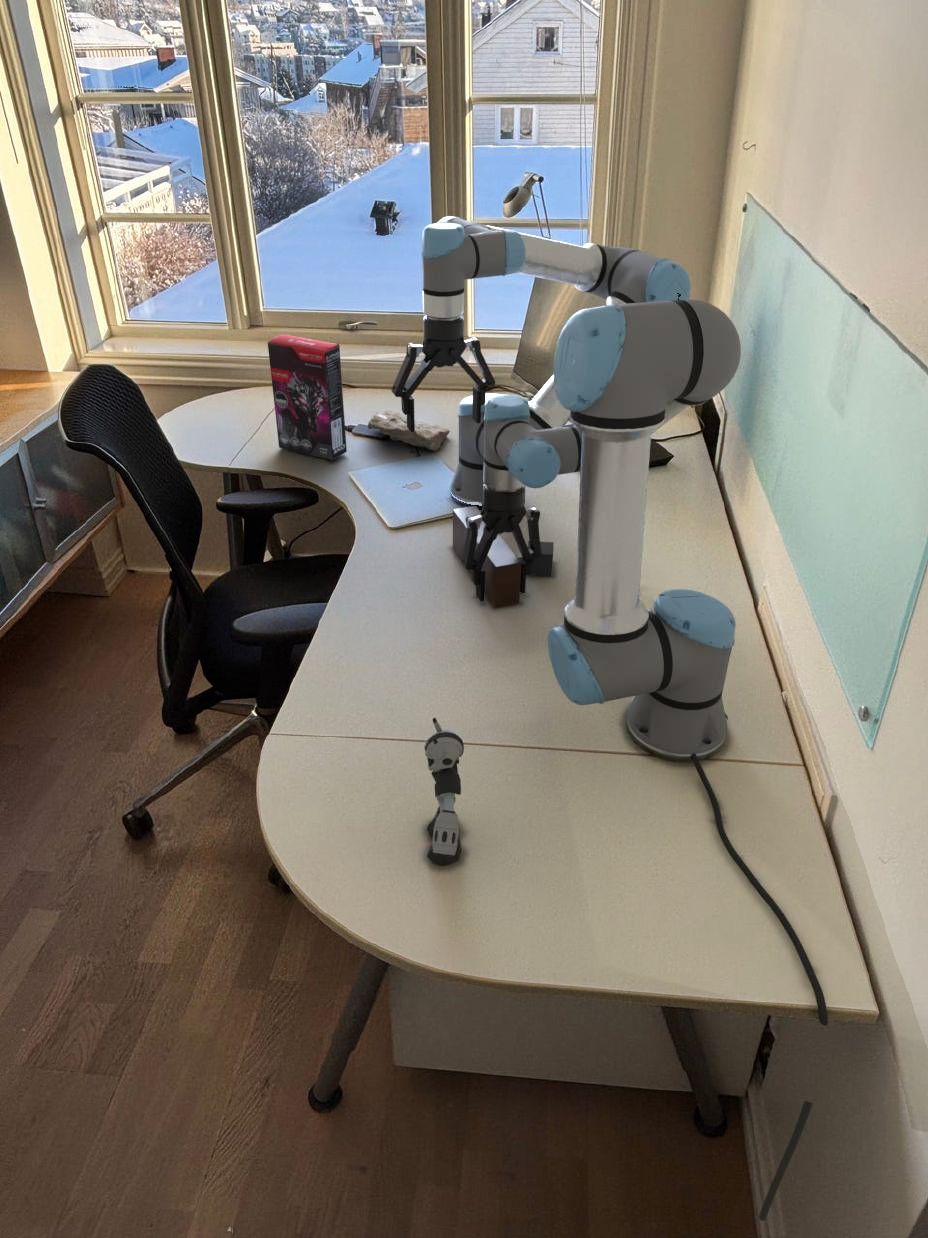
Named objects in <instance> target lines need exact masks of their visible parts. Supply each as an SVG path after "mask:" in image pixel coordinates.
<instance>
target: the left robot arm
mask: <svg viewBox="0 0 928 1238" xmlns="http://www.w3.org/2000/svg"><path fill="white" fill-rule="evenodd" d="M420 255H421V263H422V265H421V266H422V313H423V315H424V316H423V318H422V322H423V323H422V325H423V329H422V330H423V333H422V334H423V341H422V343H421V344H413V342H409V343H407V345H406V352H405V357H404V359H403V362H402V363H401V366H400V368H399V371H398V373H397V375H396V378H395V380H394V382H393V384H392V386H391V389H390V391H391V393H392V394H393V395H394V396H395V397H396V398H401V400H400V401H401V411H402V413H403V414H404V416H406V418H407V428H408V429H409V430H410V431H411V432H415V422H416V421H415V398H414V397H413V394H414V393H415V391H416V390H417V388H418V387H419V386H420V384H422V382H423V381H424V379H425V378H426V376H427V375H428V373H429V372H432V370H433V369H434V368H435V367H436V368H443V367H454V365H456V364H458V366H460V368H461V369H462V370H463V371H464V373H466V374H467V375H468V377H469V378H470V379H471V380H472V381H473V382H474V383H475V385H476V386H472V395H469V396H466V397H464V398H463V399H462V400H461V401H460V402H459V405H458V414H457V417H458V463H457V467H456V469H455V472H454V474H453V478H452V479H451V484H450V497H451V499H452V500H453V501H454V502H456V503H457V504H459V505H461V506H464V507H471V506H476V507H477V508H478V509H479V510H482V509H483V485H484V482H483V469H484V421H483V420H484V416H485V405H486V403H487V401H488V400H489V399H490V398H492V397H495V396H498V395H505V394H503V393H494V392H490V393H489V392H488V393H487V391H488V390H489V387H494V386H495V385H496V380H495V377H494V376H493V373H492V371H491V370H490V367H489V365H488V363H487V361H486V359H485V357H484V355H483V353H482V349H481V348H482V347H481V341H480V340H479V339H478V338H476V337H475V336H470V338H469V339H466V340H465V318H464V316H463V315H464V314H465V283H466V282H465V281H466V280H472V279H473V280H474V279H483V278H492V277H500V276H502V277H505V276H507V275H513V274H519V275H523V276H529V277H534V278H539V279H545V280H549V281H554V282H558V283H564V284H568V285H569V284H570V285H573V286H574V287H575V288H576V290H577V291H579V292H584V293H588V294H591V295H594V296H596V297H598V298H600V299H603V300H605V301H606V305H607V304H629V303H644V302H660V301H674V300H678V298H679V300H680V299H691V289H692V284H691V278H690V276H689V273H688V272H687V270H686V269H685V268H684V267H683V266H682V265H681V264H680V263H677V262H674V261H673V260H671V259H669V258H662V257H660V256H656V255H654V254H650V253H647V252H645V251H643V250H639V249H636V248H632V247H621V246H610V245H603V244H596V243H591V242H588V243H585V244H583V245H582V246H581V245H578V244H572V243H568V242H564V241H560V240H555V239H551V238H546V237H542V236H537V235H532V234H528V233H523V232H518V231H516V230H514V229H513V230H512V229H511V230H510V229H505V228H501V227H496V226H492V225H487V224H486V225H485V224H482V223H479V222H474V221H470V220H465V219H463V218H462V217H458V216H451V215H448V216H444V217H442V218H441V219H439V220H438V221H437V222H436V223H431V224H428V225H427V226H425V227H424V229H423V231H422V237H421V251H420ZM677 293H679V294H681V296H680V297H678V295H679V294H677ZM466 348H467V349H468V350H469V351H470V352H471V353H472V356H473V358H474V360H475V362H476V364H477V366H478V368H479V370H480V372H481V375H482V377H483V379H482V378H481V377H480V376H479V375H478V374H477V373H476V372H475V371H474V369H473V368H472V367H471V366H470V365H469V364H468V362H467V361H466V360H465V359H464V358H463V357H462V355H463V353H464V352H465V350H466ZM421 353H423V354H424V357H423V358H422V359H421V360H420V364H419V365H418V367H417V368H416V369H415V371H414V372H413V373H412V371H413V368H414V366H415V363H416V361H417V358H419V357H420V354H421ZM411 373H412V374H411ZM552 374H553V375H551V377H550V378H549V379H548V380H547V381H546V382H545V384H543V386H542V387H541V389H540V390H539V391H538V392H537V393H536V394H535V395H534V397H533V398H532V399H531V396H528V397H527V401H528V403H529V411H530V417H529V423H530V424H531V425H532V426H533V427H534V428H535V429H536V430H543V429H551V428H560V427H566V424H568V422H569V421H571V419H570V412H571V411H570V410H567V409H565V408H564V407H563V406H562V405H561V403H560V402H559V400H558V397H557V394H556V390H555V388H556V383H555V382H554V373H552ZM410 375H411V376H410ZM451 492H452V494H453V495H454V496H455V497H457V498H458V499H460V500H463V501H465V502H479V503H481V504H482V506H479V505H471V504H467V503H464V502H461V501H459V500H457V499H456V498H454V497H453V496H452V494H451Z"/></svg>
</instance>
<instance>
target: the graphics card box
mask: <svg viewBox="0 0 928 1238" xmlns="http://www.w3.org/2000/svg"><path fill="white" fill-rule="evenodd" d="M340 347H341V346H340V343H335V342H333V343H332V342H328V341H322V340H317V339H311V338H306V337H300V336H295V335H289V334H285V333H282V334H279V335H277V336H274V337H273V338H271V339H270V340H268V341H267V351H268V359H269V367H270V369H269V370H270V377H271V378H270V379H271V385H272V386H271V387H272V395H273V403H274V412H275V413H274V414H275V423H276V433H277V441H278V442H277V443H278V448H279V449H283V450H287V451H288V450H289V451H292V452H297V453H301V454H305V455H309V456H314V457H317V458H322V459H326V460H330V461H333V460H335V459H337V458H339V457H340V456H342V455H344V454H345V453H347V451H348V449H347V447H348V446H347V434H346V420H345V407H344V406H345V405H344V393H343V380H342V364H341V363H342V362H341V349H340Z"/></svg>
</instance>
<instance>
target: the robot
mask: <svg viewBox="0 0 928 1238" xmlns="http://www.w3.org/2000/svg"><path fill="white" fill-rule="evenodd" d="M432 723H433V725H434V728H435V731H436V733H434V734H432V735H431V736H430V737H429V738H428V739H426V742H425V745H424V747H423V749H424V752H425V753H424V755H425V757H426V758H427V769H428V770H429V771H430V772H431V776H432V779H433V780H434V782H435V783H434V797H435V798H436V800H437V803H438V805H439V806H438V808H437V810H436V811H435V814H434V817H433V819H432V820H431V821H430V822H429V823H428V825H427V827H426V830H427V833H428V835H429V837H430V838H432V841H431V846H430V847H429V850H428V852H427V858H428V860H430V861H431V862H432V864H434V865H437V866H441V867H442V866H448V865H450V864H453V863H455V862H457V861H459V860H460V856H461V854H462V846H461V841H460V837H459V836H460V833H461V830H460V820H459V815H458V813H456V811H455V807H454V805H455V803H456V795H457V796H459V795H462V782H461V781H462V780H461V776H460V774H459V769H458V768H459V767H458V765H459V764H460V758H462V755H463V754H464V749H465V746H464V745H465V744H464V741H463V739H462V738H461V737H460V736H459V734H457V733H455V732H453V731H451V730H443V729H442V727H441V725H440V723H439V721H438V720H437V718H436V717H433V718H432Z"/></svg>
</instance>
